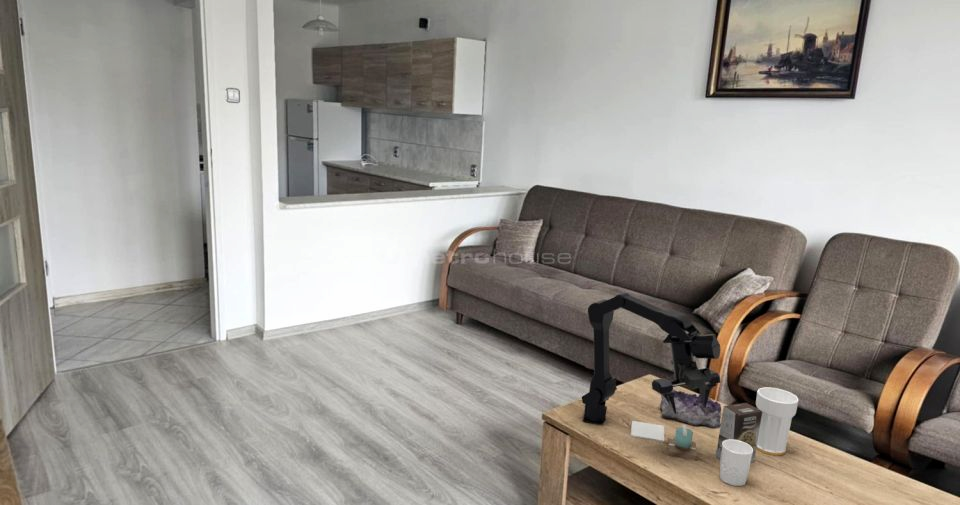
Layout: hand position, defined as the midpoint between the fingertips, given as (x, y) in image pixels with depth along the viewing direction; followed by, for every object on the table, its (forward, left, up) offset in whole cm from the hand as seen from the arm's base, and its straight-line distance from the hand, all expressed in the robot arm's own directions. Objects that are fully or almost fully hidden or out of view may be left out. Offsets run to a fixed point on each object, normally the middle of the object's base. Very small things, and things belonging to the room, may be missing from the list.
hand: (689, 410), depth 182 cm
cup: (+26, +14, -14) cm, 32 cm away
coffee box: (+15, +3, -14) cm, 21 cm away
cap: (0, +2, -12) cm, 12 cm away
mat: (-10, +11, -14) cm, 21 cm away
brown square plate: (0, +2, -14) cm, 14 cm away
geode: (+3, +26, -14) cm, 30 cm away
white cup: (+13, -9, -14) cm, 21 cm away
